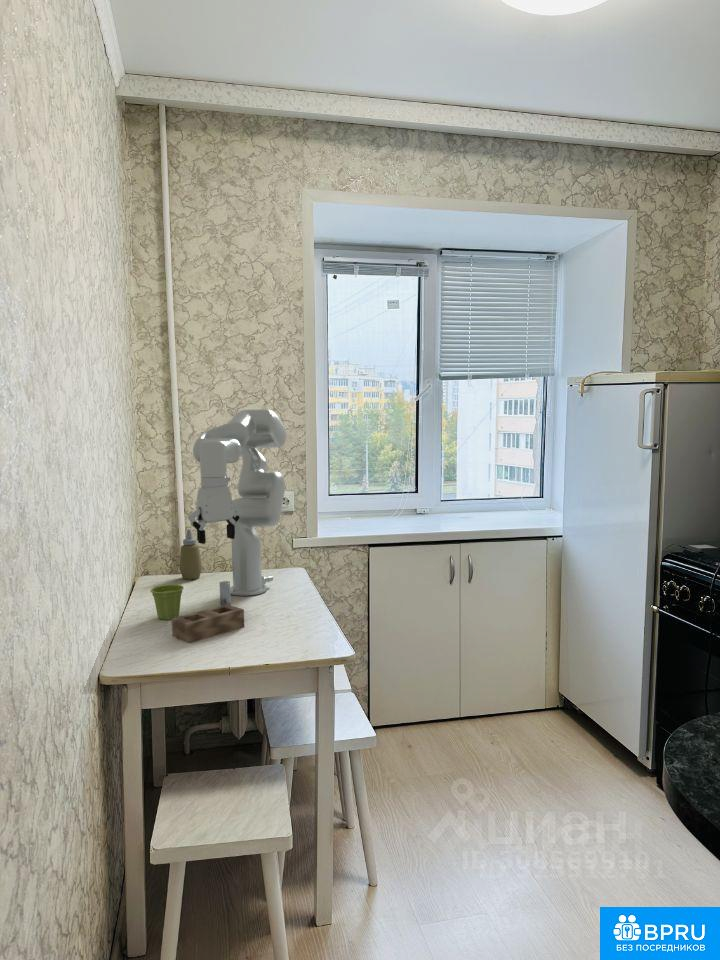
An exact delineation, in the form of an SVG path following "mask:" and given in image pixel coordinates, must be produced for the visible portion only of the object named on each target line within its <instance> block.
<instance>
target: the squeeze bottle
mask: <svg viewBox="0 0 720 960" xmlns="http://www.w3.org/2000/svg"><path fill="white" fill-rule="evenodd" d="M193 537H194V536H193V532H192V530H191V529H187V531H186V537H185V538H184V539H182V545H181V546H180V555H179V571H180V575H181V576H182V579H183V580H186V579H187V581H192V579H193V580H196V579H199V578H200V577H201V574H202V570H203V565H202V559H201V553H200V545H198V544H197V538H193Z"/></svg>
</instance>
